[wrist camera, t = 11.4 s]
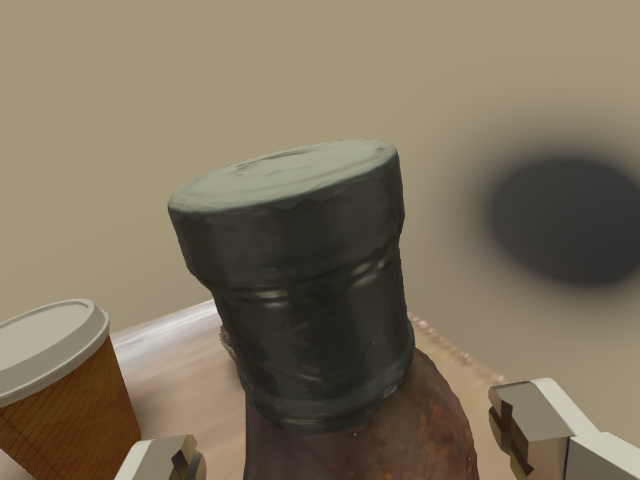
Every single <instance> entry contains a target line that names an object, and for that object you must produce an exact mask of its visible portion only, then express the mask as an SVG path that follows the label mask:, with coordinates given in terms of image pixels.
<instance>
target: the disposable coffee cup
mask: <svg viewBox="0 0 640 480" xmlns="http://www.w3.org/2000/svg"><path fill="white" fill-rule="evenodd" d="M140 435H141V433H140V429H139V426H138V423H137V420H136V417H135V414H134V411H133V408H132V405H131V402H130V399H129V396H128V392H127V389H126V386H125V383H124V380H123V377H122V374H121V371H120V368H119V365H118V361H117V358H116V355H115V352H114V349H113V346H112V343H111V339H110V336H109V315H108V314H107V313H106V311H103V310H101V309H99V308H98V307H97V306H96V305H95V304H94V303H93V302H92V301H90V300H88V299H71V300H64V301H60V302H55V303H51V304H48V305H45V306H42V307H39V308H36V309H33V310H30V311H28V312H25V313H23V314H20V315H18V316H15V317H13V318H11V319H9V320H6V321H4V322H2V323H0V448H1V449H2V450H3V451H4V452H5V453H6V454H8V455H9V456H10V457H11V458H12V459H13V460H15V462H17V463H18V464H19V465H21V466H22V467H23V468H24V469H25V470H26V471H27V472H28V473H30V474H31V475H32V476H33V477H34V478H36V479H37V480H111V479H112V478H113V477H115V476H116V475H117V473H118V472H119V470H120V468H121V466H122V464H123V462H124V461H125V459H126V457H127V455H128V453H129V451H130V450H131V448H132V446H133V445H135V444H136V443H137V442H138V441H140Z"/></svg>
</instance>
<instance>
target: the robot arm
mask: <svg viewBox="0 0 640 480" xmlns="http://www.w3.org/2000/svg"><path fill="white" fill-rule="evenodd" d="M488 398H489V400H490V401H491V403H492V405H493V406H492V407H491V408H490V409H489V422H490V425H491V429H492V432H493V435H494V437H495V440H496V442H497V443H498V445H499V447H500V449H501V450H502V451H503V452H505V453H506V454H508V455H509V456H511V460H510V467H511V469H512V471H513V473H514V475H515V476H516V478H517V480H640V449H639V448H637V447H635V446H633V445H631V444H629V443H627V442H625V441H623V440H622V439H620V438H618V437H616V436H614V435H612V434H610V433H608V432H602V433H600V431H598V429H597V428H596V427H595V426H594V425H593V424H592V423H591V421H590V420H589V419H588V418H587V417H586V416H585V415H584V414H583V413H582V412H581V410H580V409H579V408H578V407H577V406H576V405H575V403H574V402H573V401H572V400H571V399H570V398H569V397H568V396H567V394H566V393H565V392H564V391H563V390H562V389H561V388H560V387H559V386H558V384H557V383H556V382H555V381H554V380H552V379H551V378H543V379H537V380H530V381H522V382H517V383H511V384H505V385H499V386H493V387H490V388H489V391H488ZM196 445H197V442H196V440H195V438H194V436H193V435H182V436H174V437H166V438H158V439H152V440H145V441H138V442H137V443H136V444H135V445H133V446H132V448H131V450H130V451H129V453H128V455H127V457H126V459H125V461H124V462H123V464H122V466H121V468H120V470H119V472H118V473H117V475H116V477H115V479H114V480H206V463H205V459H204V457H203V454H201V453H200V452H198V451H197V450H195V448H196Z"/></svg>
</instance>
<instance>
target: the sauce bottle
mask: <svg viewBox="0 0 640 480" xmlns="http://www.w3.org/2000/svg"><path fill="white" fill-rule="evenodd" d="M168 212H169V215H170V218H171V221H172V224H173V226H174V229H175V231H176V234H177V237H178V241H179V244H180V247H181V251H182V254H183V256H184V259H185V262H186V266H187V268H188V269H189V271H190V272H191V274H193V275H194V276H195V277H196V278H197V279H198V280H199V281H200V283H201V284H203V285H204V286H205V287H206V288H208V289H209V290H210V291H211V293H212V295H213V297H214V301H215V304H216V307H217V311H218V313H219V315H220V317H221V319H222V323H223V326H224V329H225V330H226V332H227V333H228V336H229V339H230V342H231V345H232V349H233V351H234V353H235V355H236V357H237V370H238V376H239V378H240V381H241V384H242V387H243V389H244V391H245V393H246V462H245V468H244V475H243V480H480V479H479V474H478V469H477V454H476V451H475V449H474V440H473V437H472V432H471V429H470V425H469V421H468V419H467V417H466V415H465V413H464V411H463V409H462V406H461V404H460V401H459V399H458V397H457V396H456V395H455V394H454V393H453V392H452V391H451V388H450V386H449V384H448V382H447V381H446V380H445V379H444V377H443V376H442V375H441V374H440V372H439V371H438V370H437V368H436V366H435V364H434V362H433V361H432V360H430V359H429V357H428V356H427V355H426V354H424V353H423V352H422V351H420V350H419V349H417V348H416V347H415V337H414V330H413V327H412V324H411V322H410V320H409V319H408V317H407V306H406V302H405V297H404V286H403V276H402V270H401V259H400V250H399V245H398V244H399V238H400V234H401V232H402V227H403V222H404V218H405V211H404V201H403V185H402V179H401V172H400V163H399V156H398V153H397V150H396V148H395V147H394V146H393V145H392V144H390V143H388V142H385V141H374V140H369V139H366V140H362V139H352V140H346V141H343V140H340V141H335V142H328V143H320V144H315V145H310V146H305V147H295V148H292V149H289V150H283V151H279V152H276V153H272V154H267V155H264V156H261V157H257V158H254V159H251V160H246V161H242V162H239V163H235V164H230V165H227V166H224V167H221V168H218V169H216V170H212V171H210V172H207V173H205V174H203V175H200V176H198V177H196V178H194V179H192V180H191V181H189V182H187V183H185V184H184V185H182V186H181V187H179V188H178V189H177V190H176V191H175V192H174V193H173V194H172V196H171V197H170V199H169V202H168Z"/></svg>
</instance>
